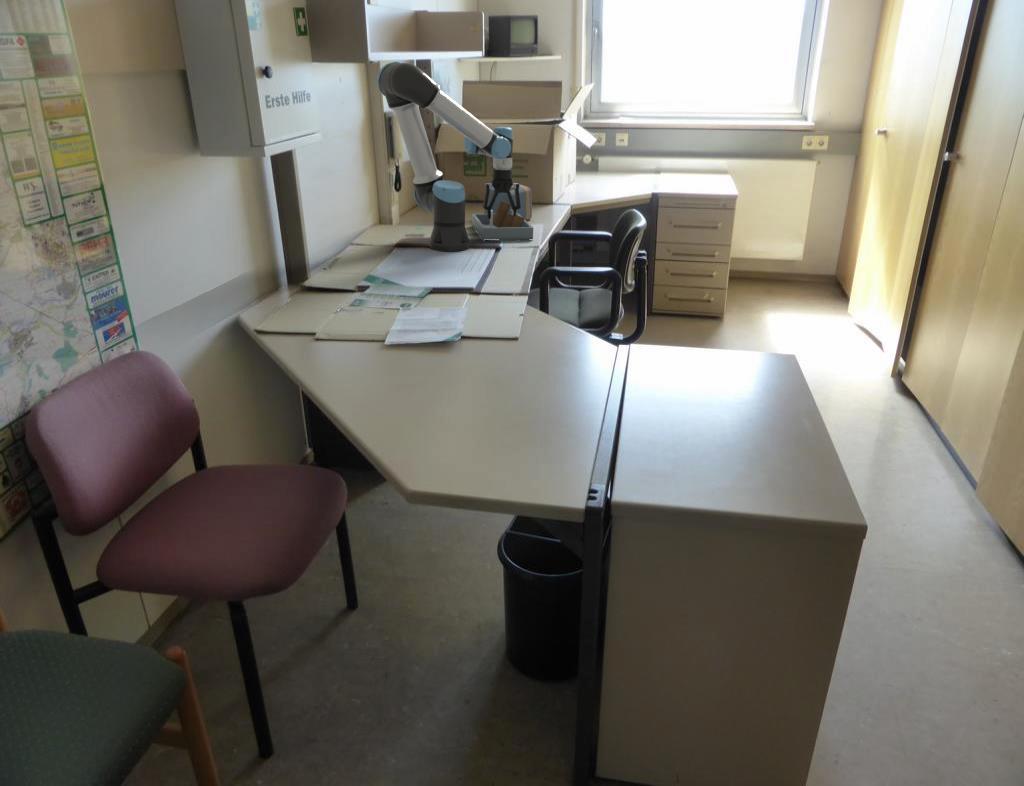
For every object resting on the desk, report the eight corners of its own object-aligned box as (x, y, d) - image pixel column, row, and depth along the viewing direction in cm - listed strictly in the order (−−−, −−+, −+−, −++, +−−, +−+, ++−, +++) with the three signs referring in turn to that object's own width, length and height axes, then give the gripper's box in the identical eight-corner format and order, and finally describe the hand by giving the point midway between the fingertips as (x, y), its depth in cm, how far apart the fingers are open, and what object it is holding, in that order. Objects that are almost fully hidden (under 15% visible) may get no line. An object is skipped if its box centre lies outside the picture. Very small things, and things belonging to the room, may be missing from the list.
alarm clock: (533, 220, 323) (535, 183, 317) (506, 224, 313) (507, 186, 307) (509, 214, 334) (510, 178, 328) (481, 218, 324) (482, 181, 317)
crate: (482, 241, 284) (482, 228, 282) (472, 225, 309) (472, 214, 307) (532, 240, 288) (533, 227, 286) (518, 225, 313) (518, 213, 310)
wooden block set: (520, 238, 293) (531, 214, 290) (503, 231, 288) (513, 206, 285) (501, 227, 307) (511, 204, 304) (484, 220, 302) (494, 196, 299)
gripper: (478, 169, 282) (477, 228, 292) (530, 169, 286) (528, 228, 296) (475, 167, 289) (475, 224, 298) (526, 167, 293) (524, 224, 302)
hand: (501, 226), depth 297 cm, fingers closed on wooden block set, 8 cm apart
